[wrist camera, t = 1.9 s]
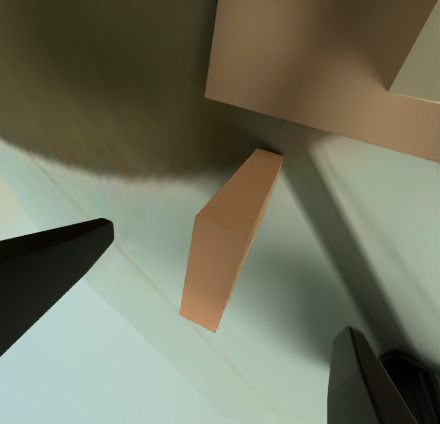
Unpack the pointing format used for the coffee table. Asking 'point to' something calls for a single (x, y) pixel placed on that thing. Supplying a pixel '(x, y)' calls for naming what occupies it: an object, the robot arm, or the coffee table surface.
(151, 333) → the coffee table surface
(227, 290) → the terracotta domino
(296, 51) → the walnut board
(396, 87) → the ivory domino
